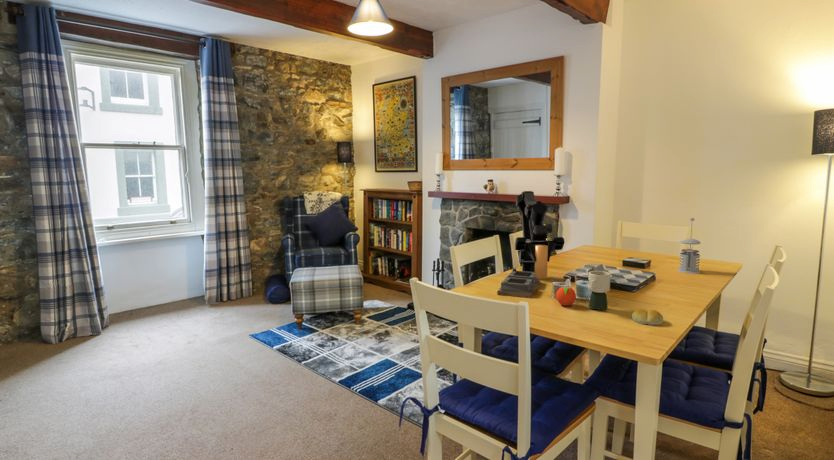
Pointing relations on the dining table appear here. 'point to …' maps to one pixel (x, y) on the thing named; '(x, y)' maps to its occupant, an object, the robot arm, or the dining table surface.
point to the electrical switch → (597, 268)
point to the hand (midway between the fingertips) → (541, 261)
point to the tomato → (566, 296)
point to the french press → (689, 257)
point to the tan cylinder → (541, 261)
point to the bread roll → (647, 317)
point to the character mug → (599, 289)
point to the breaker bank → (519, 284)
